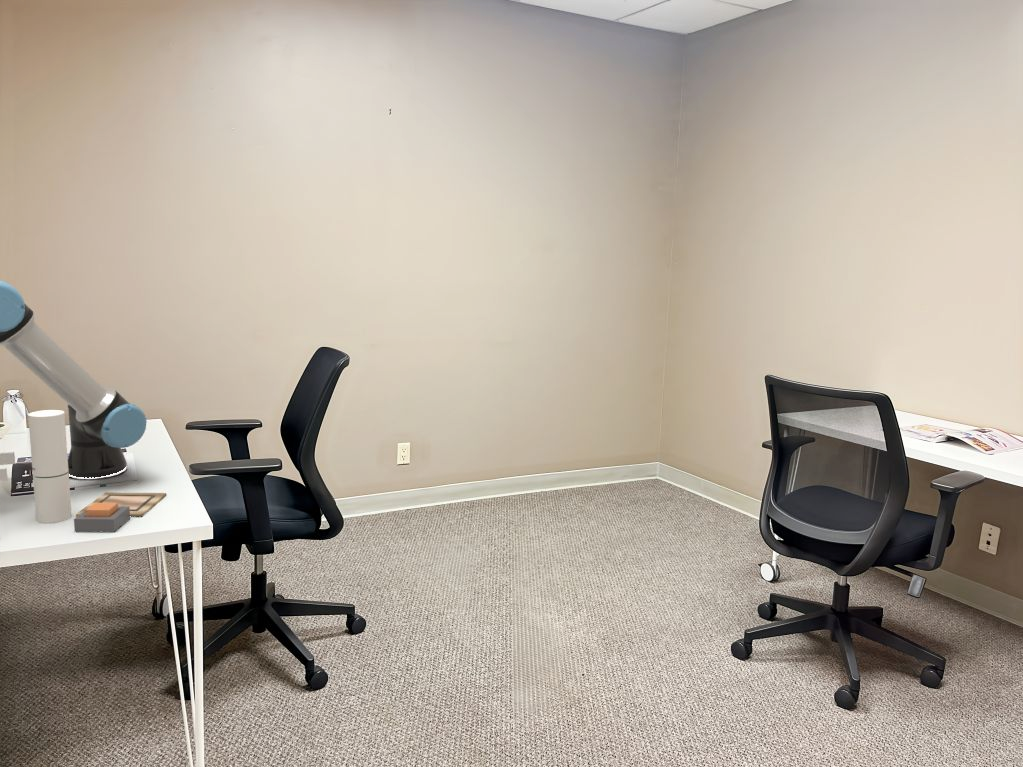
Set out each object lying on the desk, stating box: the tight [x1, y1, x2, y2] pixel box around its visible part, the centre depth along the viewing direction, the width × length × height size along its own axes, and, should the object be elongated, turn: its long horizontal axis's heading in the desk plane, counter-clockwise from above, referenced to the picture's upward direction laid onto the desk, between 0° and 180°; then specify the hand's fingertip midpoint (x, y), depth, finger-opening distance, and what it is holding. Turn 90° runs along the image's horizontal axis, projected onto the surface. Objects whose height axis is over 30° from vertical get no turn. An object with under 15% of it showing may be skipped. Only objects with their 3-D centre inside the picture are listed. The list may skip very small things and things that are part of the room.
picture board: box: [75, 491, 167, 518], centre depth 193 cm, size 16×15×1 cm
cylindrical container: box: [27, 409, 72, 524], centre depth 181 cm, size 7×7×25 cm
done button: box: [86, 503, 118, 517], centre depth 179 cm, size 5×5×3 cm
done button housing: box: [73, 506, 131, 533], centre depth 179 cm, size 9×9×3 cm
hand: (11, 465), depth 177 cm, fingers open, 13 cm apart
